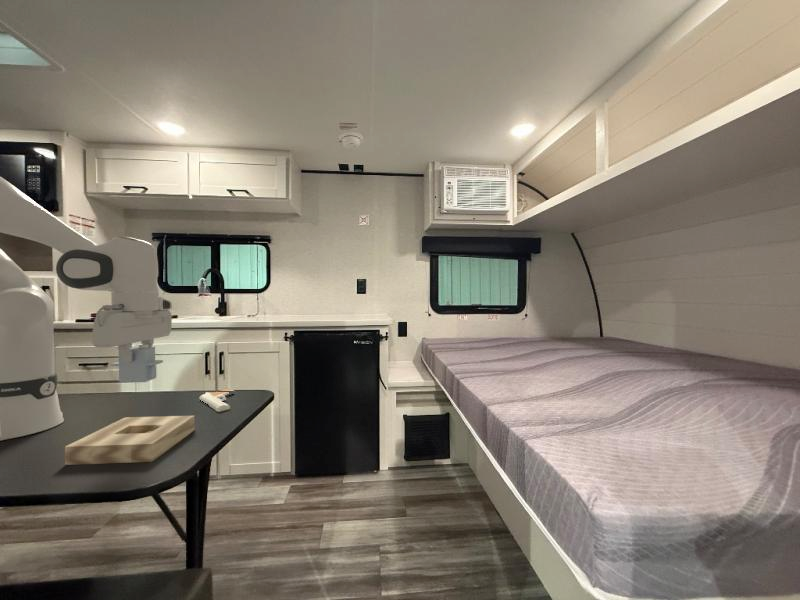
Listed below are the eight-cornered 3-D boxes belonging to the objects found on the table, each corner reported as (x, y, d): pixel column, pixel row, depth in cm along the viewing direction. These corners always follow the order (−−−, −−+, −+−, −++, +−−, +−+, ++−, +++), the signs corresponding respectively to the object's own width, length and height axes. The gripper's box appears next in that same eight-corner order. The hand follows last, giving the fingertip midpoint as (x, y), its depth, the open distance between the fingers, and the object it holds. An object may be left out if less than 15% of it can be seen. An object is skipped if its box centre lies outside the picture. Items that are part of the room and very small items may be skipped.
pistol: (253, 404, 105) (217, 414, 96) (228, 392, 118) (195, 400, 109) (253, 397, 105) (217, 406, 96) (228, 386, 118) (194, 393, 109)
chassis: (65, 464, 67) (64, 446, 67) (125, 432, 83) (125, 417, 82) (152, 461, 68) (152, 443, 68) (194, 429, 84) (194, 415, 84)
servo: (111, 382, 73) (110, 346, 73) (122, 378, 77) (122, 344, 76) (153, 382, 74) (152, 346, 74) (163, 378, 77) (162, 343, 77)
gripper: (113, 305, 65) (114, 369, 65) (176, 302, 85) (176, 351, 85) (81, 305, 64) (82, 370, 65) (152, 302, 85) (153, 352, 85)
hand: (136, 359), depth 75 cm, fingers closed on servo, 3 cm apart
